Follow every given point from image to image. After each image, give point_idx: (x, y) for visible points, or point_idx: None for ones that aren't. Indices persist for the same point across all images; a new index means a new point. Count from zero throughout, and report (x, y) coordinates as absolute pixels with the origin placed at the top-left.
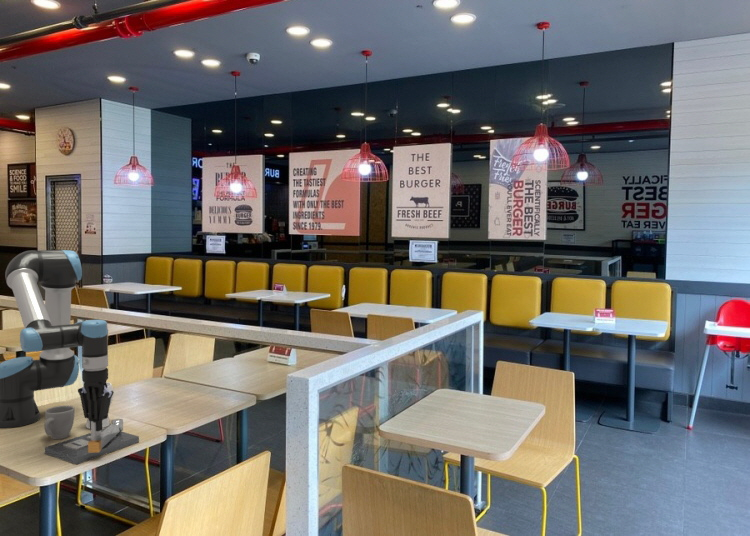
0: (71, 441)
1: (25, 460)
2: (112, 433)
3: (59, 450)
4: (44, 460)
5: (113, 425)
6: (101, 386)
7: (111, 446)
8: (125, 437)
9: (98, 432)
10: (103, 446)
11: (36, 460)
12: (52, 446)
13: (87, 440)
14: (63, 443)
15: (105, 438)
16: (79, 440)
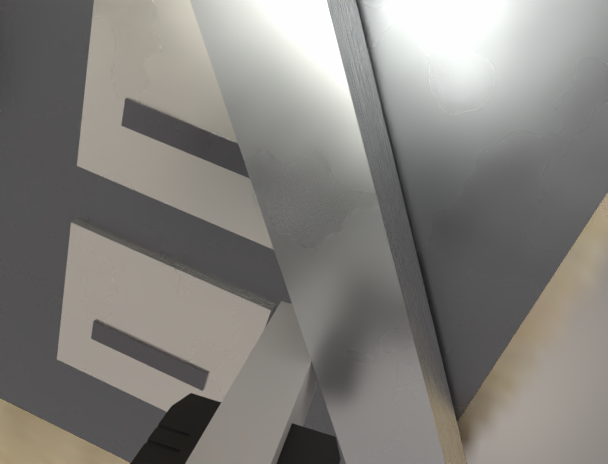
0: (41, 268)
1: (24, 452)
2: (390, 199)
3: (123, 442)
4: (116, 456)
5: (268, 26)
6: None
7: (505, 346)
8: (535, 52)
9: (298, 409)
10: (456, 426)
11: (75, 454)
12: (13, 374)
13: (146, 228)
14: (27, 317)
15: (444, 428)
16: (93, 263)
